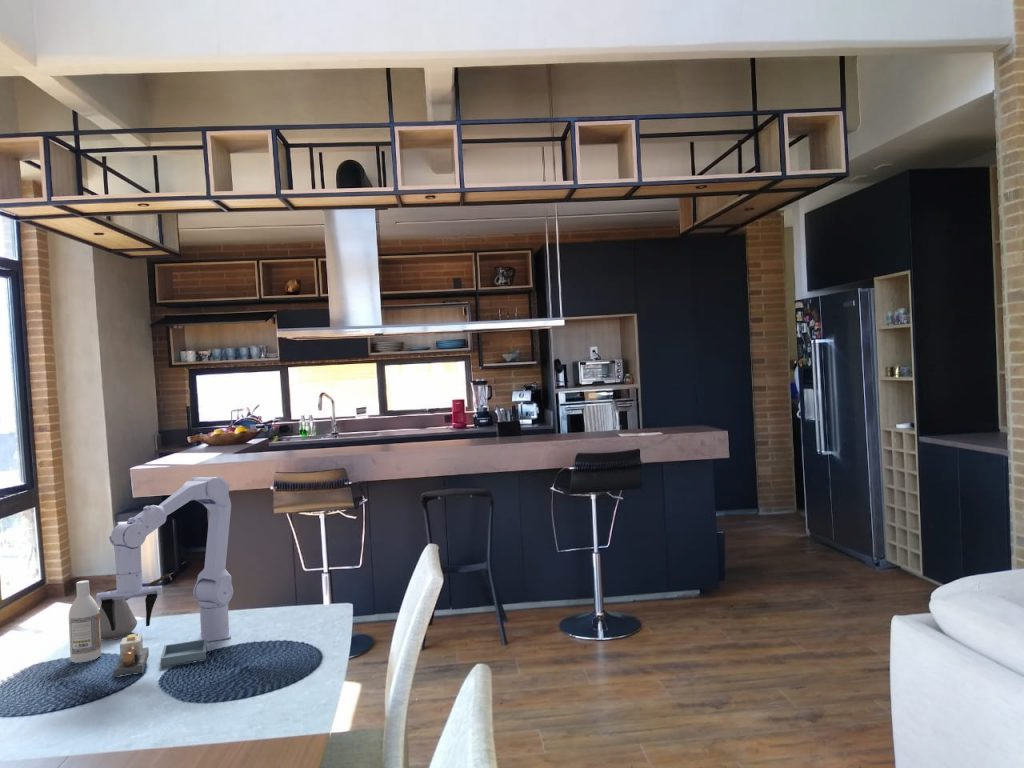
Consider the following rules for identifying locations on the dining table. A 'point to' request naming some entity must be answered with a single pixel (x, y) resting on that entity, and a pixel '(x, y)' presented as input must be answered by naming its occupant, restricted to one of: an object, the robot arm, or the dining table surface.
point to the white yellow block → (131, 644)
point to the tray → (183, 653)
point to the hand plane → (131, 662)
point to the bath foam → (84, 625)
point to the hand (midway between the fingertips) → (130, 627)
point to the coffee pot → (121, 617)
